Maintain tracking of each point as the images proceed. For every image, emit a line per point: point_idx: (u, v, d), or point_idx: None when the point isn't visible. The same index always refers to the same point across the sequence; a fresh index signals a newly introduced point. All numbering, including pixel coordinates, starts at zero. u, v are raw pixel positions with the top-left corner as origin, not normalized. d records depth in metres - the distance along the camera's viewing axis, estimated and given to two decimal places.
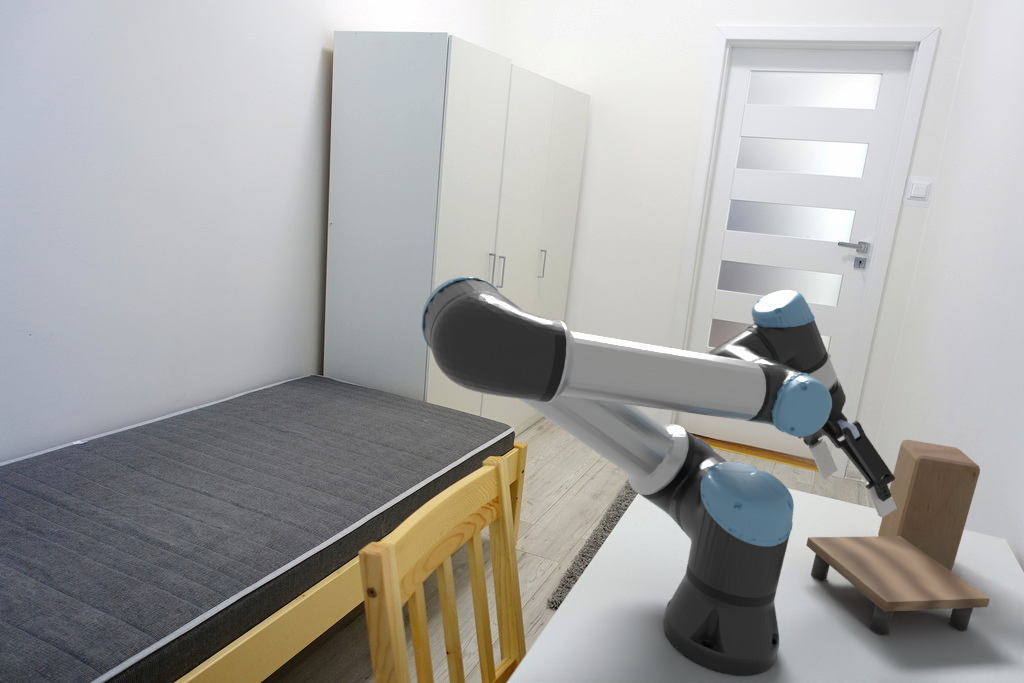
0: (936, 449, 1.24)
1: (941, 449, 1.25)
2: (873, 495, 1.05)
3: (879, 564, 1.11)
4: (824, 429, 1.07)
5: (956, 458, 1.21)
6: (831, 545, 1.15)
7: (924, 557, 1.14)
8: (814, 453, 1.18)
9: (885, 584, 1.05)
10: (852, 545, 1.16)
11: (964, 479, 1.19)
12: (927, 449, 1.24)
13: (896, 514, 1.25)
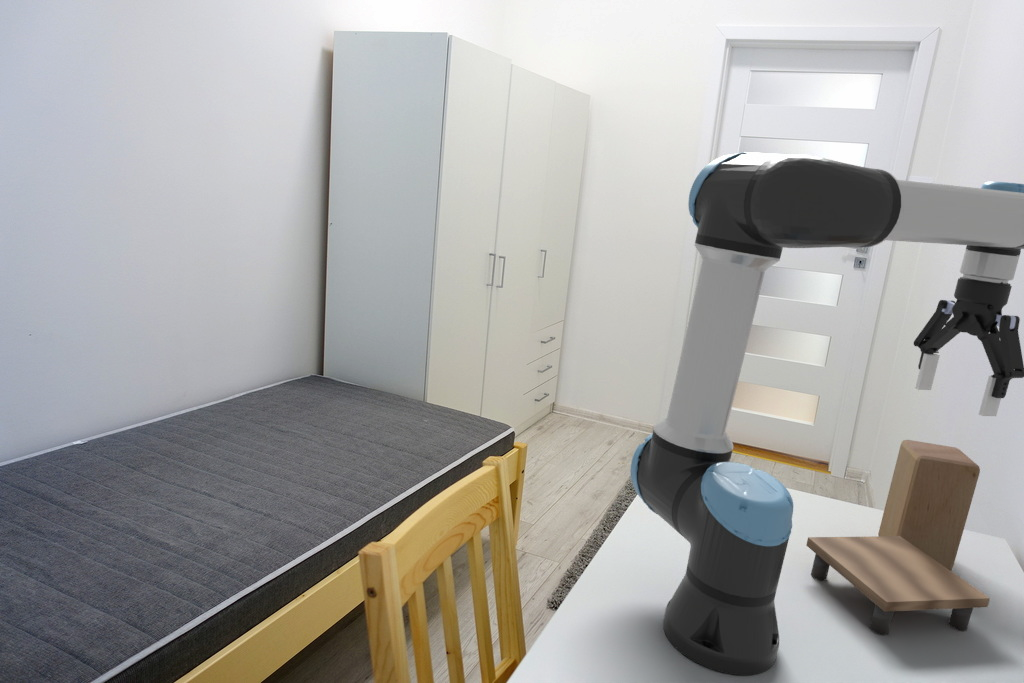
0: (936, 449, 1.24)
1: (941, 449, 1.25)
2: (990, 389, 1.13)
3: (879, 564, 1.11)
4: (976, 318, 1.16)
5: (956, 458, 1.21)
6: (831, 545, 1.15)
7: (924, 557, 1.14)
8: (926, 360, 1.26)
9: (885, 584, 1.05)
10: (852, 545, 1.16)
11: (964, 479, 1.19)
12: (927, 449, 1.24)
13: (896, 514, 1.25)
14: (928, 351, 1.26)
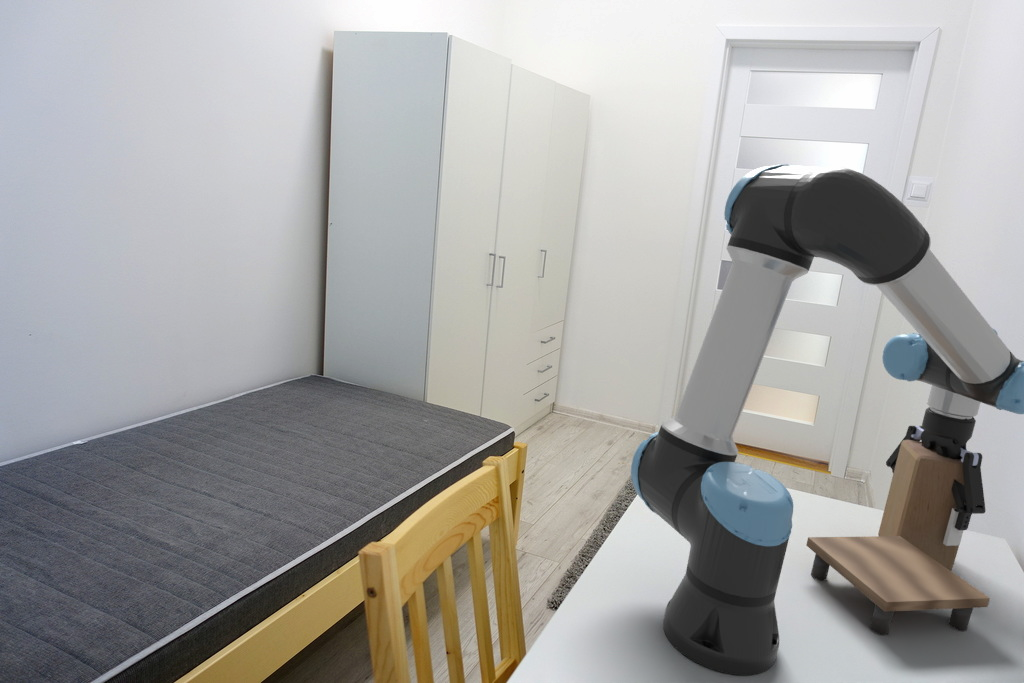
0: None
1: None
2: (953, 521, 1.19)
3: (879, 564, 1.11)
4: (942, 450, 1.21)
5: (956, 458, 1.21)
6: (831, 545, 1.15)
7: (924, 557, 1.14)
8: None
9: (885, 584, 1.05)
10: (852, 545, 1.16)
11: None
12: None
13: (896, 514, 1.25)
14: None
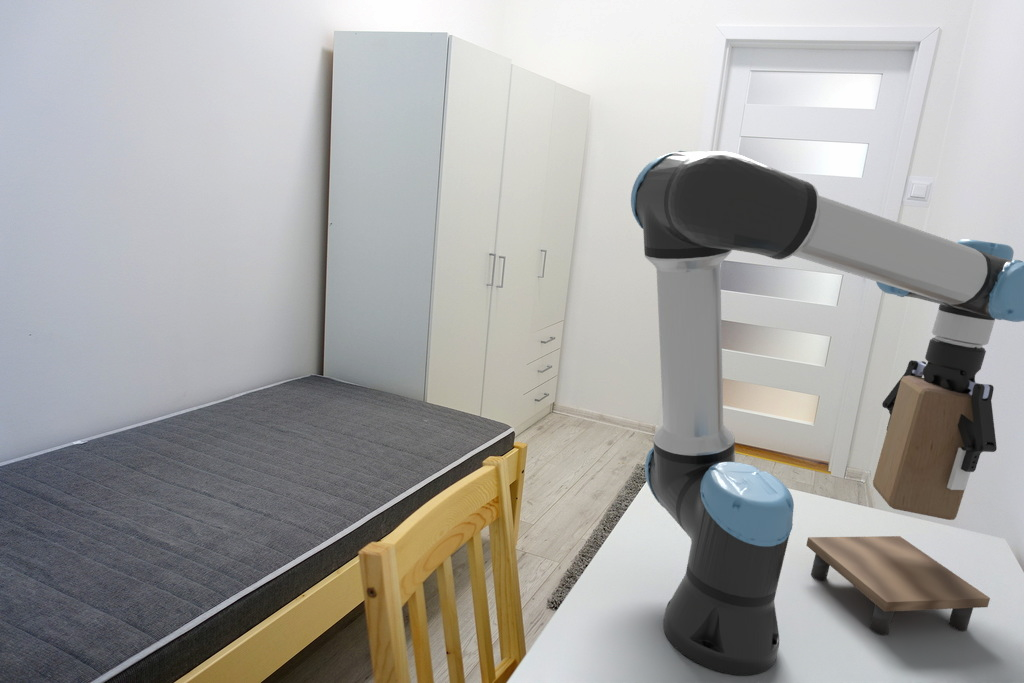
0: None
1: None
2: (959, 462, 1.06)
3: (879, 564, 1.11)
4: (948, 384, 1.08)
5: None
6: (831, 545, 1.15)
7: (924, 557, 1.14)
8: None
9: (885, 584, 1.05)
10: (852, 545, 1.16)
11: None
12: (930, 383, 1.11)
13: (895, 457, 1.12)
14: None
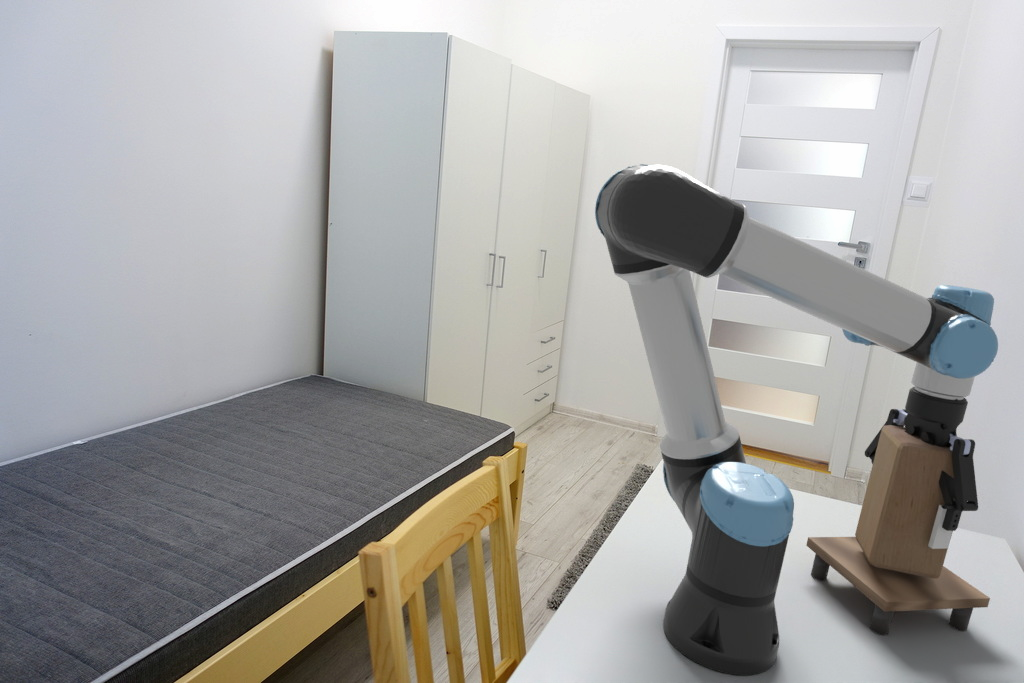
0: None
1: None
2: (940, 520, 1.01)
3: None
4: (928, 437, 1.03)
5: (944, 446, 1.03)
6: (831, 545, 1.15)
7: None
8: None
9: (885, 584, 1.05)
10: (852, 545, 1.16)
11: None
12: (911, 435, 1.06)
13: (875, 512, 1.07)
14: None
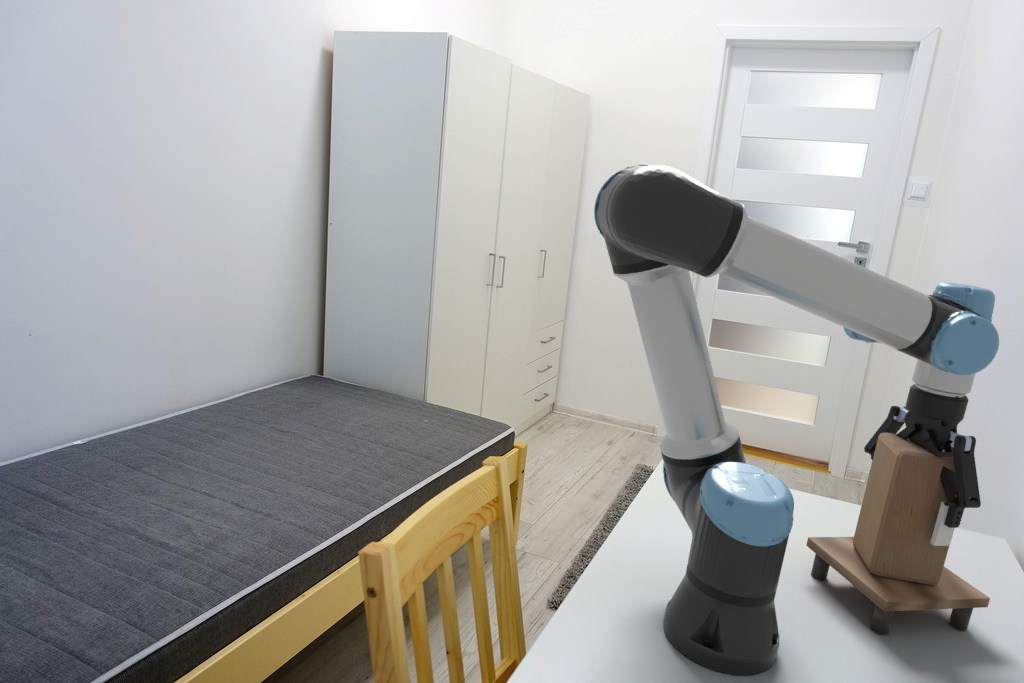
0: None
1: None
2: (942, 517, 1.01)
3: None
4: (929, 434, 1.03)
5: None
6: (831, 545, 1.15)
7: None
8: None
9: (885, 584, 1.05)
10: (852, 545, 1.16)
11: None
12: (908, 443, 1.06)
13: (874, 520, 1.07)
14: None
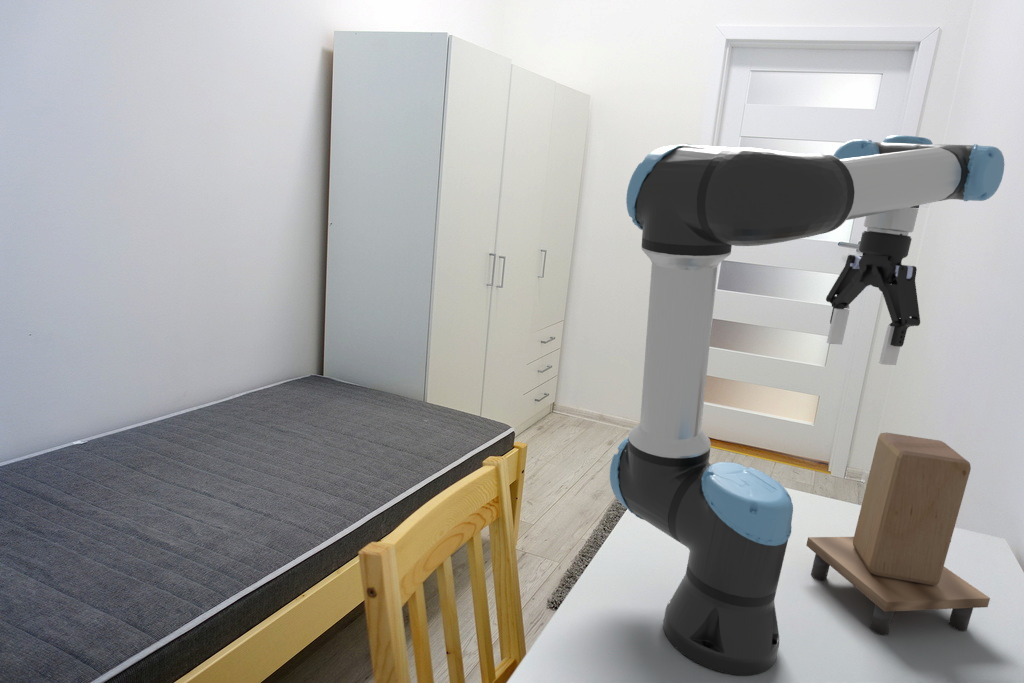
0: (919, 443, 1.07)
1: (924, 443, 1.07)
2: (888, 338, 1.16)
3: None
4: (878, 269, 1.19)
5: (942, 453, 1.03)
6: (831, 545, 1.15)
7: None
8: (836, 314, 1.29)
9: (885, 584, 1.05)
10: (852, 545, 1.16)
11: (953, 478, 1.01)
12: (908, 443, 1.06)
13: (874, 520, 1.07)
14: (838, 306, 1.30)
